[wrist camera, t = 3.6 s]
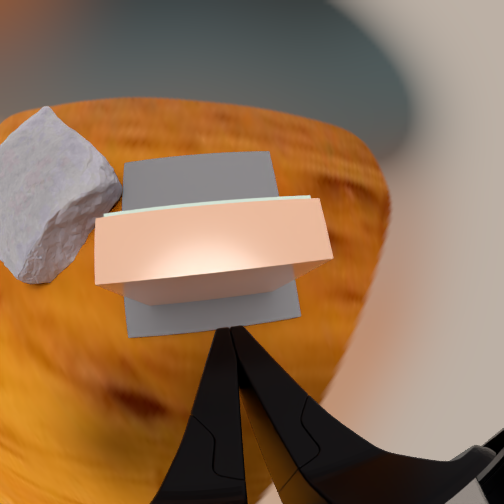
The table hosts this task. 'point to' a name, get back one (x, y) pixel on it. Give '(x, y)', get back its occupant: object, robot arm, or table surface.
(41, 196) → the stone block
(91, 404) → the table surface
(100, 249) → the tile
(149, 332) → the mat
